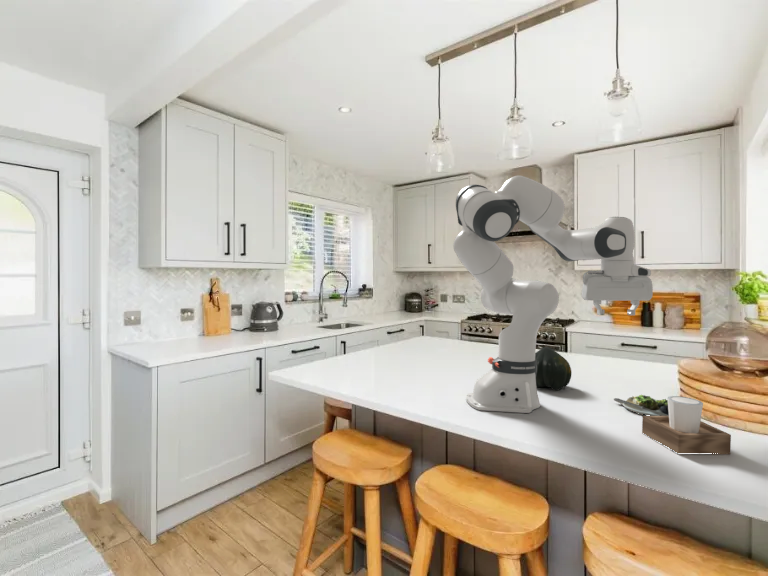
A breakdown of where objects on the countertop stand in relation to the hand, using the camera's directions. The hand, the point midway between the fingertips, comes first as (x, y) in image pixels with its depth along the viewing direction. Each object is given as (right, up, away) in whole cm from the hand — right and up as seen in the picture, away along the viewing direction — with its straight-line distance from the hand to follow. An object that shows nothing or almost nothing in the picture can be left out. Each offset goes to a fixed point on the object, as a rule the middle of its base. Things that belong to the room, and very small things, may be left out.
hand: (615, 315), depth 121 cm
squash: (-12, -28, +21) cm, 37 cm away
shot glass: (+1, -26, -27) cm, 37 cm away
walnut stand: (+1, -29, -27) cm, 40 cm away
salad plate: (+10, -29, -5) cm, 31 cm away
